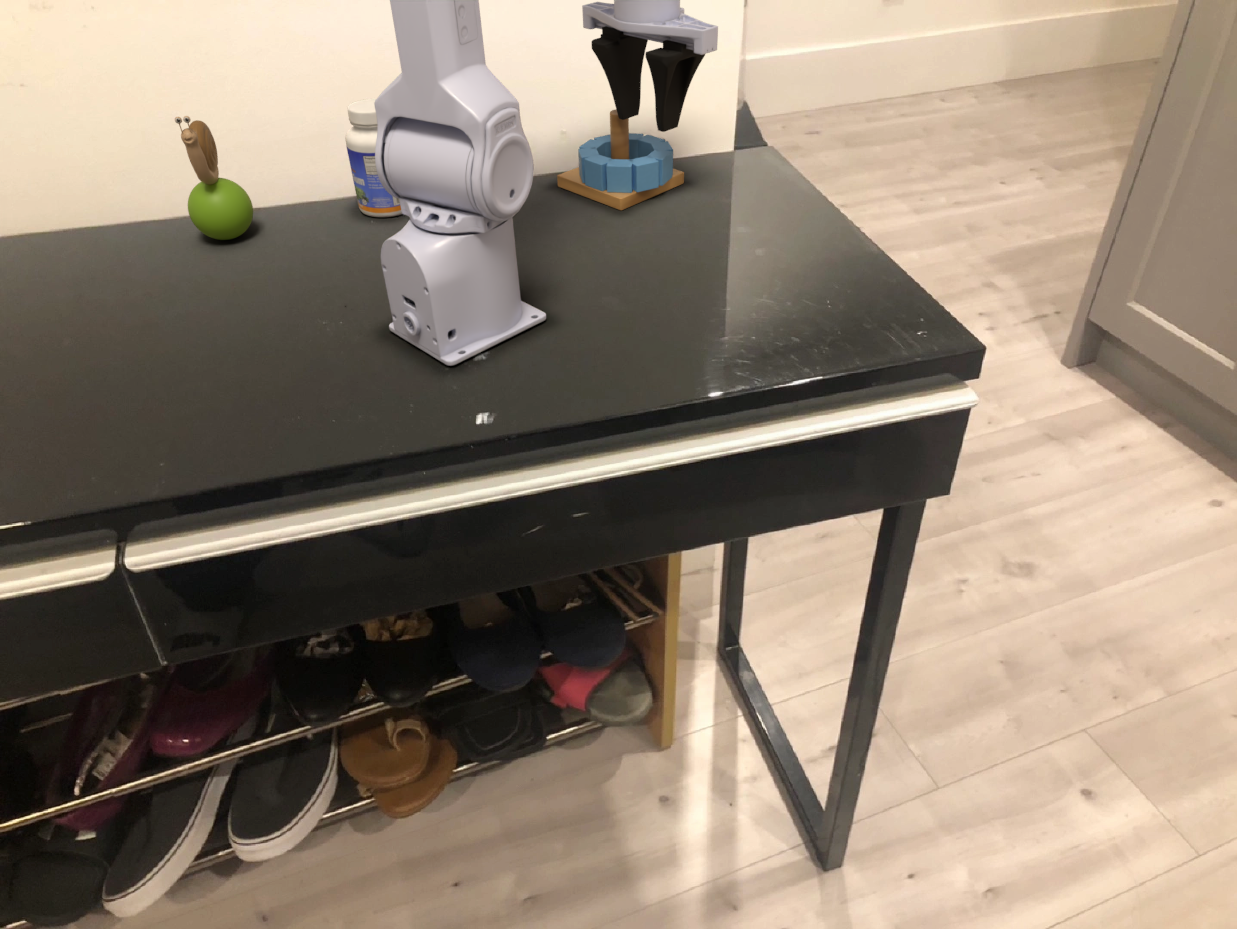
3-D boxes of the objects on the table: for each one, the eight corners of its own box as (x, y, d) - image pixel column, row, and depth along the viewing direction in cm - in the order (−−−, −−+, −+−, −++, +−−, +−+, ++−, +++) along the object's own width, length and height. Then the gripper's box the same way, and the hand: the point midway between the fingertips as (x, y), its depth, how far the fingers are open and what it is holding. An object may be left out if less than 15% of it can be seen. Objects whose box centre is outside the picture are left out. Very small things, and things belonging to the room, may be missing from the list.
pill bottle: (357, 200, 90) (335, 99, 84) (412, 193, 91) (395, 92, 85) (362, 222, 86) (340, 117, 80) (419, 214, 87) (402, 110, 81)
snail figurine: (192, 257, 81) (145, 120, 74) (203, 228, 86) (159, 96, 79) (256, 250, 82) (215, 114, 74) (262, 221, 87) (225, 91, 79)
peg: (621, 210, 87) (619, 134, 82) (557, 186, 92) (552, 113, 87) (684, 183, 92) (685, 110, 87) (620, 161, 97) (618, 91, 92)
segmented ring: (628, 201, 86) (627, 173, 84) (560, 176, 91) (559, 150, 89) (691, 173, 91) (691, 147, 89) (623, 151, 96) (623, 126, 94)
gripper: (744, -40, 75) (735, 128, 83) (619, -58, 83) (622, 96, 92) (687, -26, 71) (683, 148, 79) (561, -47, 79) (570, 113, 88)
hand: (647, 122), depth 85 cm, fingers open, 5 cm apart
